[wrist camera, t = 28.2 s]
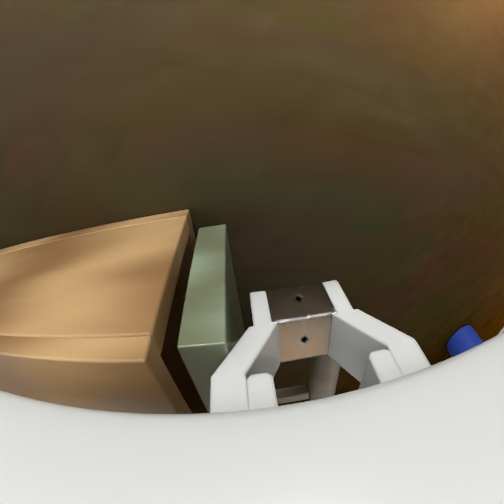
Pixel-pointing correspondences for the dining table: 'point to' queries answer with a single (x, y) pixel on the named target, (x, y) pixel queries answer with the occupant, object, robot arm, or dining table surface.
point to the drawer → (219, 328)
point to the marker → (463, 340)
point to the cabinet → (95, 315)
